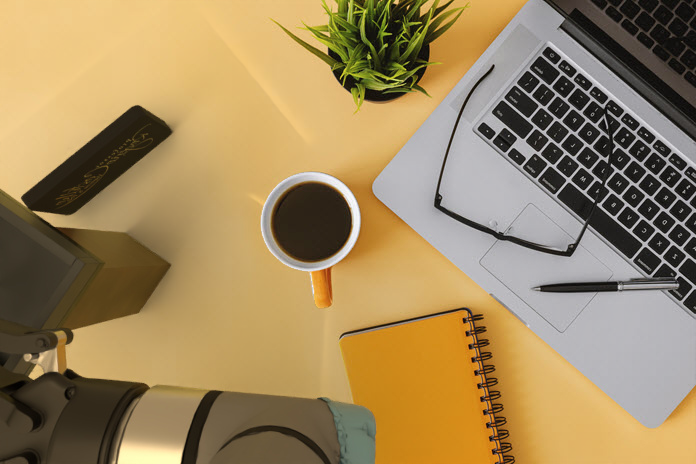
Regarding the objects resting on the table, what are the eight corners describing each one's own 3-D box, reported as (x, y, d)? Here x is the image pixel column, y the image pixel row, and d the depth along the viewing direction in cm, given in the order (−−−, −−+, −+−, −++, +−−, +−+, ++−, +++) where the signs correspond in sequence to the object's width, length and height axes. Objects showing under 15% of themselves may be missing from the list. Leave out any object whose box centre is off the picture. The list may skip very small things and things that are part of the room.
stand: (138, 313, 75) (15, 345, 49) (92, 280, 75) (-55, 294, 49) (171, 264, 75) (65, 270, 49) (125, 232, 75) (-5, 221, 49)
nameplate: (167, 122, 76) (136, 102, 66) (174, 132, 76) (144, 113, 66) (63, 206, 76) (17, 199, 66) (70, 215, 76) (25, 210, 66)
